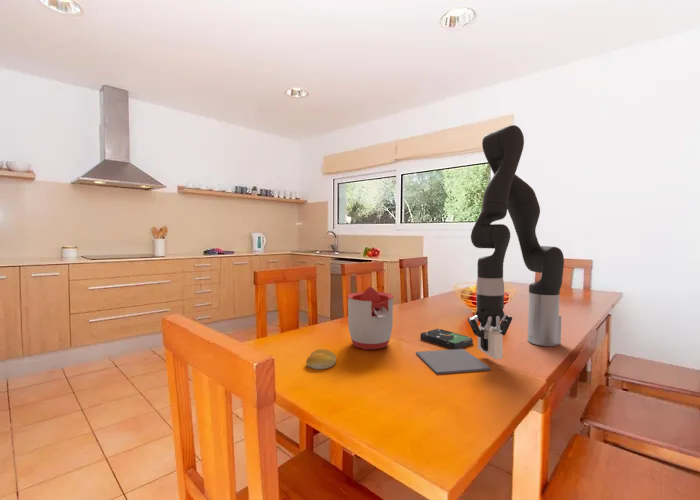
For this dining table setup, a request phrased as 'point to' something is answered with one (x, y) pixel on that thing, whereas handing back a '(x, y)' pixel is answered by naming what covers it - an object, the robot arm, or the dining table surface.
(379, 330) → the citrus juicer
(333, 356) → the bread roll
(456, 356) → the mat
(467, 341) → the disk drive
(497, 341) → the block
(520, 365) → the dining table surface
